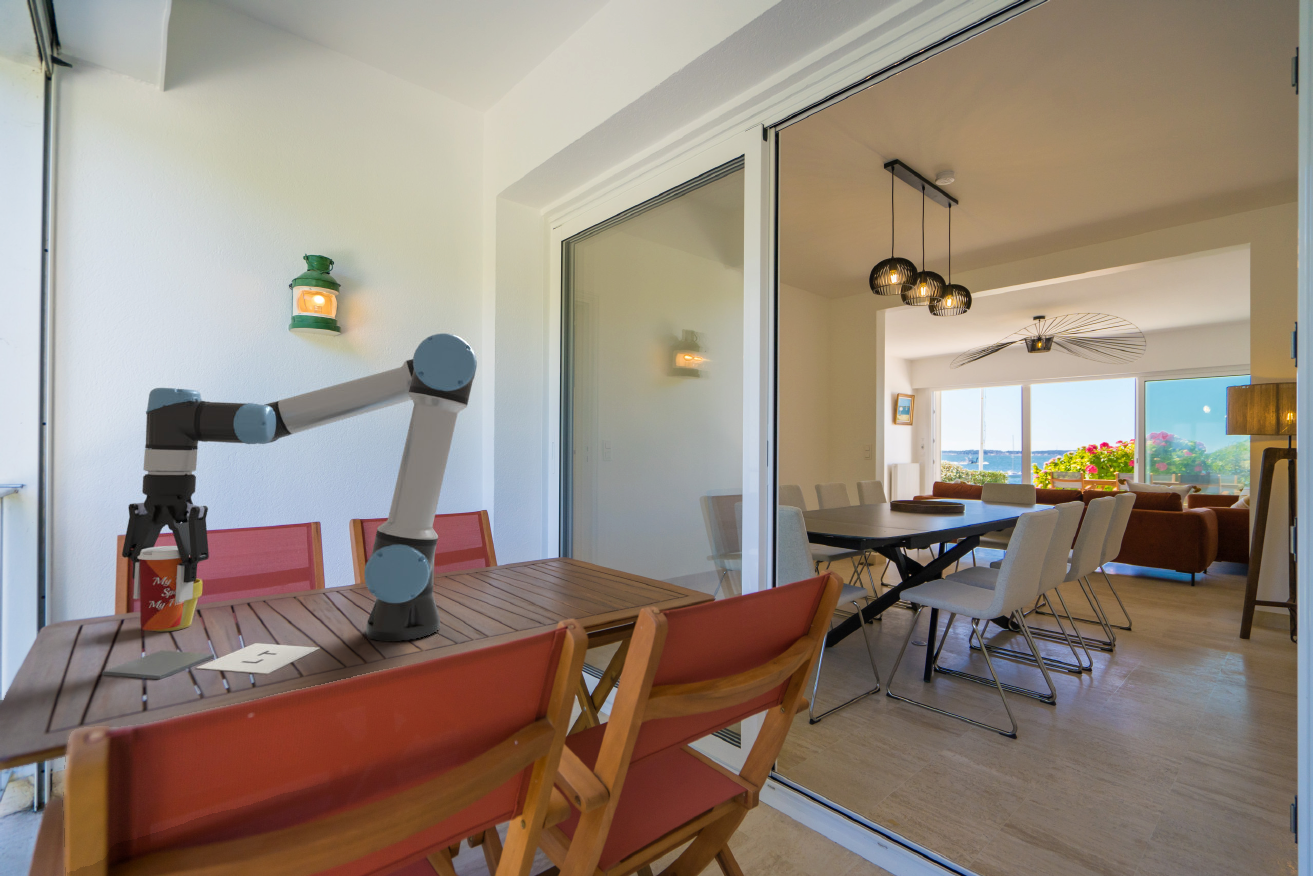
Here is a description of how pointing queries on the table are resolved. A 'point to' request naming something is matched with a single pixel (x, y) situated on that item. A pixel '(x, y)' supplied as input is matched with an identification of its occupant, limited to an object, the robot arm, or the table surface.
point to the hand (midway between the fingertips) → (163, 598)
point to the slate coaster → (158, 664)
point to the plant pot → (188, 608)
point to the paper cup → (159, 588)
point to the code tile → (259, 658)
